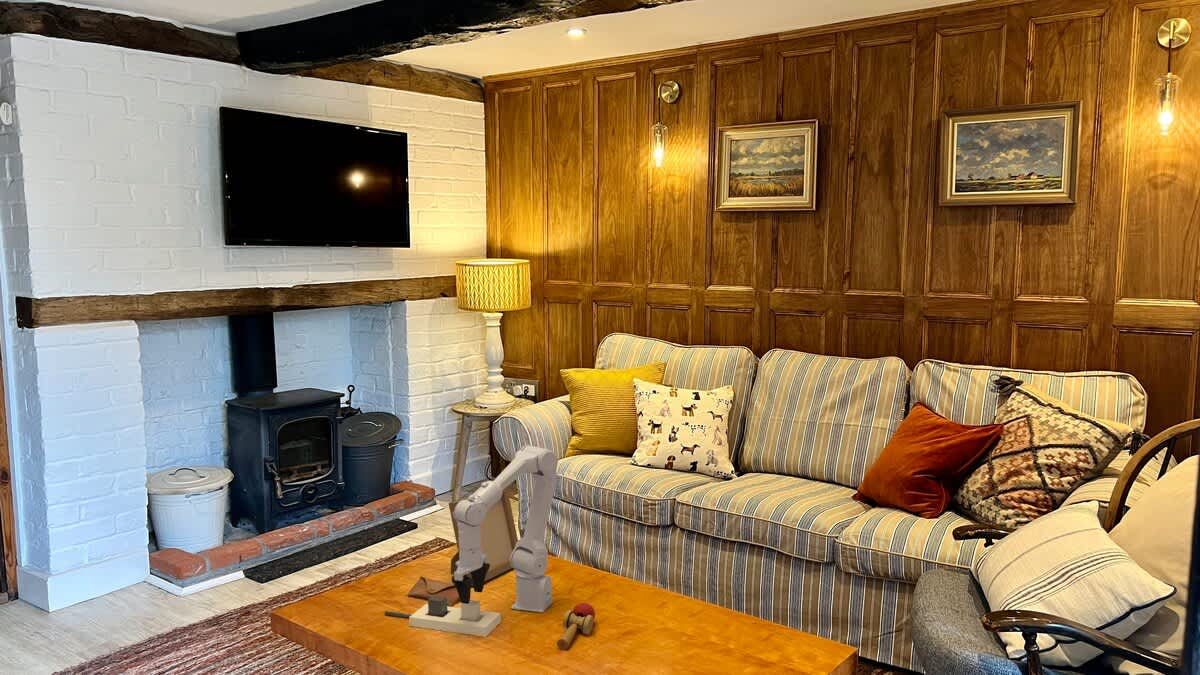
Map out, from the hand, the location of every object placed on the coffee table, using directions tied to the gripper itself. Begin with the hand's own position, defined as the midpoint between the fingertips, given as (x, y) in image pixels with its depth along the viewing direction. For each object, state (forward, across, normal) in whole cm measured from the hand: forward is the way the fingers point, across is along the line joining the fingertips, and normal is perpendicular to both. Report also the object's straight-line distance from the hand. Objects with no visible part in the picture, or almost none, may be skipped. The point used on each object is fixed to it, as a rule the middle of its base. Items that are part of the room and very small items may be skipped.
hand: (471, 597), depth 229 cm
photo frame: (+8, -36, -15) cm, 40 cm away
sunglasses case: (+9, -15, -19) cm, 26 cm away
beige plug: (+7, 0, 0) cm, 7 cm away
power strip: (+8, 0, -10) cm, 13 cm away
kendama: (+8, -3, +27) cm, 29 cm away
